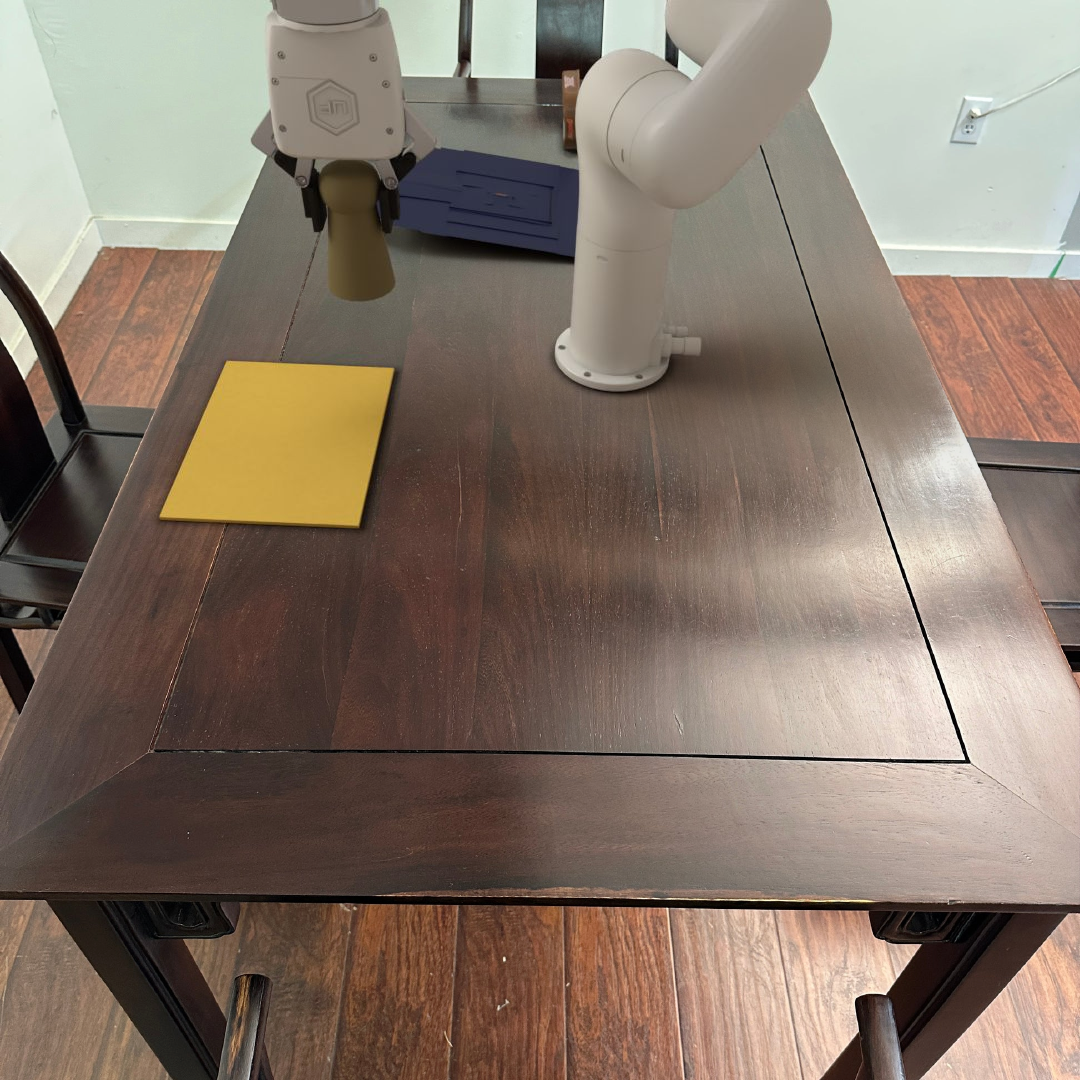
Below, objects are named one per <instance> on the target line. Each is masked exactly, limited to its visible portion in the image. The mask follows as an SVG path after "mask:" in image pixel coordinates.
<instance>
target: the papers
mask: <svg viewBox="0 0 1080 1080" xmlns="http://www.w3.org/2000/svg"><path fill="white" fill-rule="evenodd" d="M404 148H406V147H404V146H403V148H402V151H403V150H404ZM402 151H401V152H402ZM397 156H398V155H397ZM398 186H399V198H400V220H394V222H393V227H398V228H404V229H408V230H409V229H410V230H414V231H415V230H416V231H420V233H423V234H431V235H435V236H436V235H437V236H441V237H447V238H452V237H454V238H461V239H466V240H471V241H472V240H473V241H480V242H486V243H491V244H497V245H498V244H499V245H504V246H511V247H515V248H516V247H517V248H524V249H529V250H534V251H535V250H536V251H543V252H549V253H551V254H556V255H562V256H567V257H573V258H575V251H576V235H577V224H578V208H579V169H576V168H571V167H566V166H562V165H558V164H553V163H547V162H540V161H534V160H528V159H523V158H517V157H510V156H505V155H498V154H494V153H493V154H492V153H485V152H480V151H475V150H467V149H463V150H461V149H460V150H459V149H454V148H448V147H447V148H446V147H440V148H437V147H435V149H434V150H433V151H432V152H431V153H429V154H428V155H427V156H426V157H425V158H423V159H422V160H421V161H419V162H418V163H417V164H416V165H415V167H414V168H413V169H412V170H411V171H410V172H409V173H408V174H407V175H406V176H405V177H404V178H403V179H402V180H401V181H400V182H399V183H398ZM377 207H378V211H379V216H380V220H381V215H380V205H379V200H378V202H377Z"/></svg>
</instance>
